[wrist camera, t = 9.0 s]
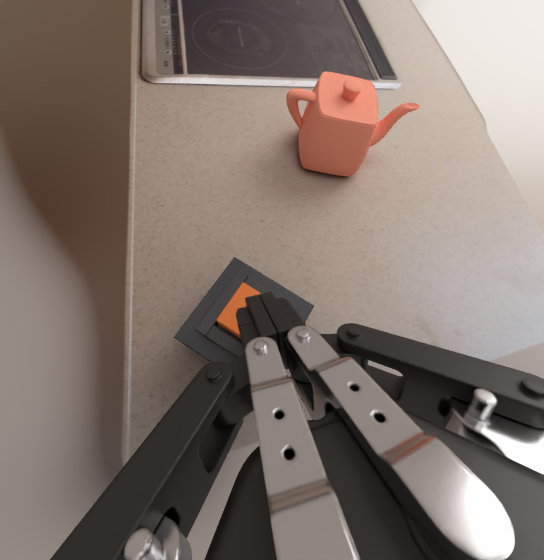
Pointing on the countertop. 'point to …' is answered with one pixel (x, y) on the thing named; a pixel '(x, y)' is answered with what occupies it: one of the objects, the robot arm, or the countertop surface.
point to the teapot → (340, 122)
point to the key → (235, 308)
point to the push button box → (202, 322)
